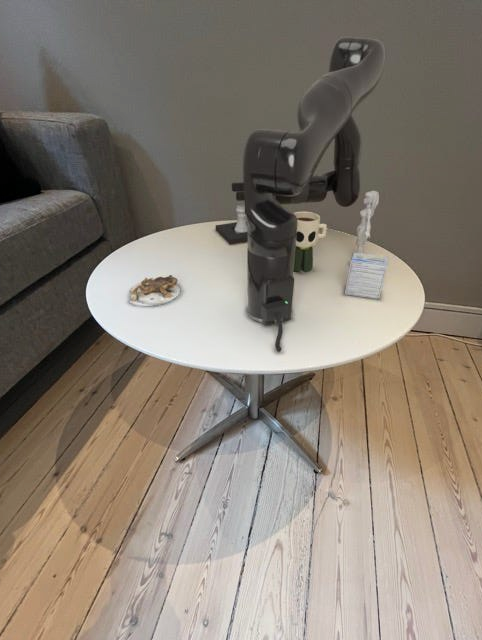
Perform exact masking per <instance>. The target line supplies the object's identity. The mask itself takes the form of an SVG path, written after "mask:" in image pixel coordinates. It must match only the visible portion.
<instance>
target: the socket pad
mask: <svg viewBox="0 0 482 640" xmlns="http://www.w3.org/2000/svg"><path fill="white" fill-rule="evenodd" d="M246 224H247V221H246ZM236 225H237V221H236V222H229V223H222V224H215V232H217V233H218V234H219V235H220V237H222V238H223V239H224V240H225V241H226V242H227V243H228V244H229V245H237V244H243V243H247V232H243V233H236V232H235V227H236Z"/></svg>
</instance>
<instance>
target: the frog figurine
mask: <svg viewBox="0 0 482 640" xmlns="http://www.w3.org/2000/svg"><path fill="white" fill-rule="evenodd" d="M178 282H179V281H178V278H177V277H174V276H173V275H172V274H169V275H168V276H165V277H163V276H158V277H156V278H153V277H151V278H147V277H145V278H144V279H143V280H142V281H141V282H140V283H139V284H137V285H135V286H133V287H131V288H130V290H129V293H130V296H129V301H128V302H129V304H131V305H134V306H137V307H154V306H162V305H166V304H168V303H170V302H172V301H173V300H175V299H176V298H178V296H180V295H181V291H182V290H180V287H179V285H178Z"/></svg>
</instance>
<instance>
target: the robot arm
mask: <svg viewBox="0 0 482 640" xmlns="http://www.w3.org/2000/svg"><path fill="white" fill-rule="evenodd" d="M385 64H386V49H385V46H384V44H383V42H381V41H380V40H379V39H376V38H370V37H369V38H368V37H355V36H341V37H339V38H338V39H337V40H336V42H335V43H334V45H333V48H332V51H331V54H330V58H329V65H328V72H327V73H325V74H323V75H321V76H320V77H319V78H317V79H316V80H315V81H314V82H313V84H312V85H311V86H310V87H309V88H308V89H307V90H306V91H305V93H304V94H303V96H302V97H301V99H300V100H299V103H298V106H297V113H296V114H297V115H296V117H297V120H296V121H297V125H298V129H299V131H290V130H282V129H273V128H256V129H254V130H252V131H251V132H250V133H249V135H248V137H247V139H246V142H245V145H244V149H243V155H242V180H243V182H241V181H240V182H232V183H231V191H232V192H233V193H234V192H235V199H236V201H238V202H241V201H244V206H245V217H246V221H247V231H248V232H247V242H246V243H247V246H246V252H247V254H246V266H247V267H246V301H247V302H246V303H247V304H246V314H247V316H248V317H249V318H250V319H251V320H253V321H254V322H256V323H257V322H258V323H261V324H263V326H270V325H274V324H277V335H276V338H275V343H274V344H275V345H274V347H275V349H276V351H277V352H278V353H279V352H281V351H282V347H281V340H282V337H283V331H284V329H283V327H284V326H283V322H286V321H290V320H292V312H293V301H294V291H295V290H294V288H295V277H294V259H295V248H296V237H297V226H298V221H297V218H296V216H295V215H294V214H293V213H294V212H292V211H290V210H289V209H287V208H286V207H285V206H283V205H298V204H299V205H300V204H306V203H321V202H323V201H324V200H325V199H326V197H327V194H328V193H329V192H332V193H333V197H334V200H335V202H336V203H337V205H339V206H341V207H343V208H348V207H351V206H353V205H354V204H355V203H356V202H357V200H358V199H359V196H360V195H361V172H360V163H361V155H362V146H363V145H362V144H363V139H362V133H361V130H360V126H359V124H358V123H357V121H356V119H355V116H354V115H353V113H354V111H355V110H356V109H357V108H358V107H359V105H360V104H361V103H362V102H363V101H364V100H365V99H367V98H368V96H370V95H371V94H372V92H373V91H374V90H375V89H376V87H377V86H378V84H379V82H380V80H381V78H382V74H383V73H384V68H385ZM333 141H334V142H333ZM332 142H333V143H334V145H333V146H334V147H333V168H334V169H333V170H330V171H327V172H324V173H321V174H314V173H315V172H316V170H317V168H318V166H319V164H320V163H321V160H322V158H323V156H324V155H325V153H326V151H327V149H328V148H329V146H330V145H331V143H332Z"/></svg>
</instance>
